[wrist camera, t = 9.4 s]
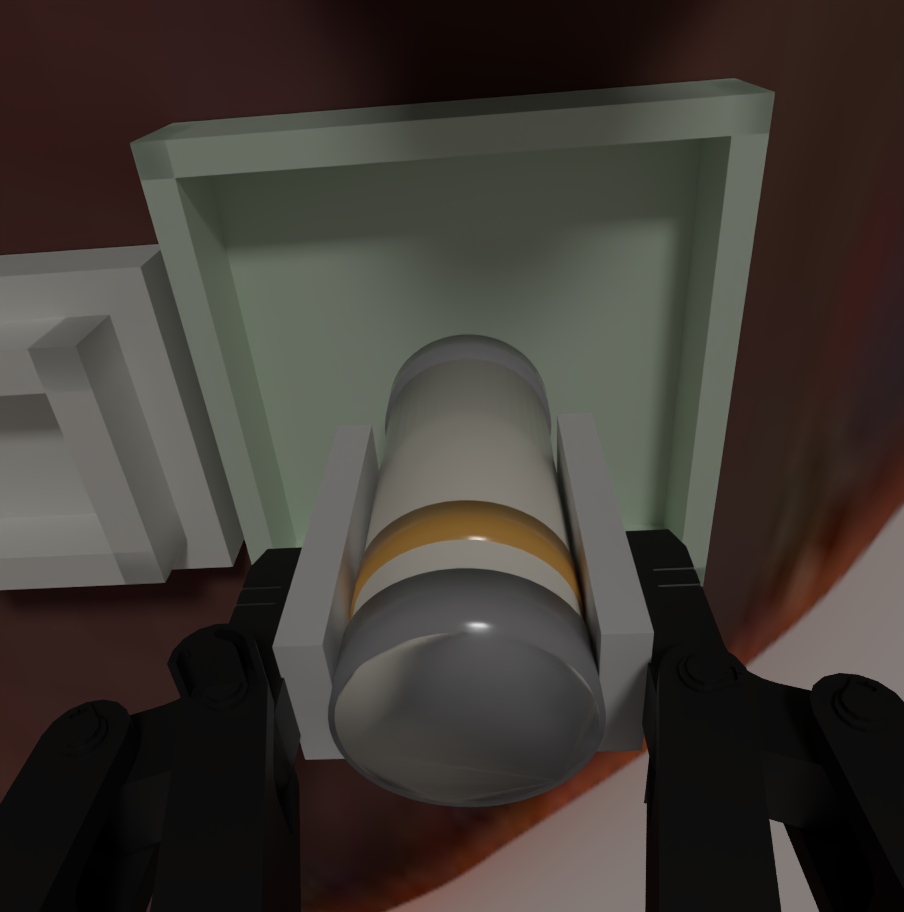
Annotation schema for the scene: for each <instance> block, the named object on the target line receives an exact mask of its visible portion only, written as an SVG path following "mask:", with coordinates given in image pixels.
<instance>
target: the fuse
mask: <svg viewBox="0 0 904 912" xmlns="http://www.w3.org/2000/svg"><path fill="white" fill-rule="evenodd" d="M385 435H386V439H385V444H384V449H383V455H382V460H381V465H380V471H379V476H378V481H377V487H376V492H375V497H374V503H373V508H372V513H371V519H370V524H369V529H368V535H367V540H366V545H365V551H364V554H363V557H362V559H361V561H360V565H359V569H358V573H357V578H356V584H355V589H354V594H353V599H352V604H351V610H350V622H349V623H348V625H347V627H346V630H345V632H344V634H343V637H342V641H341V645H340V650H339V655H338V660H337V666H336V671H335V676H334V681H333V686H332V691H331V696H330V701H329V706H328V723H329V730H330V733H331V736H332V738H333V741H334V743H335V745H336V747H337V748H338V750H339V752H340V753H341V754H342V756H343V757H344V758H345V759H346V761H347V762H348V763H349V764H350V765H351V766H352V767H353V768H354V769H355V770H356V771H357V772H359V773H360V774H361V775H363V776H364V777H366V778H367V779H368V780H370V781H372V782H373V783H375V784H377V785H378V786H380V787H382V788H384V789H386V790H389V791H391V792H393V793H395V794H398V795H401V796H404V797H407V798H409V799H413V800H417V801H421V802H425V803H430V804H436V805H443V806H454V807H485V806H495V805H502V804H508V803H513V802H517V801H522V800H525V799H528V798H531V797H534V796H537V795H540V794H542V793H545V792H547V791H549V790H552V789H553V788H555V787H557V786H559V785H561V784H563V783H564V782H566V781H567V780H569V779H570V778H571V777H573V776H574V775H576V774H577V773H578V772H579V771H580V770H581V769H582V768H583V767H584V766H586V764H587V763H588V762H589V761H590V760H591V758H592V757H593V756H594V754H595V753H596V751H597V749H598V748H599V746H600V744H601V741H602V738H603V736H604V732H605V726H606V710H605V704H604V699H603V694H602V688H601V684H600V680H599V675H598V669H597V664H596V659H595V653H594V648H593V643H592V638H591V635H590V633H589V631H588V629H587V626H586V625H585V614H584V608H583V603H582V597H581V592H580V586H579V581H578V575H577V571H576V567H575V563H574V560H573V558H572V556H571V552H570V546H569V540H568V535H567V529H566V523H565V518H564V512H563V507H562V501H561V495H560V490H559V484H558V478H557V473H556V467H555V461H554V456H553V450H552V445H551V439H550V437H551V416H550V410H549V405H548V400H547V394H546V390H545V386H544V383H543V381H542V378H541V376H540V374H539V372H538V371H537V369H536V367H535V366H534V365H533V364H532V362H531V361H530V360H529V359H528V358H527V357H526V356H525V355H524V354H523V353H521V352H520V351H519V350H517V349H516V348H515V347H513V346H511V345H509V344H507V343H505V342H503V341H500V340H498V339H495V338H491V337H487V336H482V335H474V334H462V335H454V336H449V337H445V338H441V339H439V340H436V341H433V342H431V343H429V344H427V345H426V346H424V347H422V348H421V349H419V350H418V351H416V352H415V353H414V354H413V355H412V356H411V357H410V358H409V359H407V360H406V362H405V363H404V364H403V366H402V367H401V368H400V370H399V371H398V373H397V375H396V377H395V379H394V382H393V384H392V388H391V392H390V397H389V402H388V407H387V412H386V418H385Z"/></svg>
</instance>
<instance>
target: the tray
mask: <svg viewBox="0 0 904 912" xmlns="http://www.w3.org/2000/svg"><path fill="white" fill-rule="evenodd" d="M774 96H775V92H773V91H770V90H767V89H764V88H762V87H759V86H756V85H753V84H750V83H747V82H744V81H741V80H738V79H735V78H730V79H718V80H706V81H693V82H681V83H668V84H656V85H643V86H631V87H618V88H606V89H593V90H581V91H568V92H556V93H543V94H531V95H518V96H506V97H493V98H481V99H468V100H456V101H443V102H431V103H418V104H406V105H393V106H381V107H368V108H356V109H343V110H331V111H318V112H306V113H293V114H281V115H268V116H256V117H243V118H231V119H218V120H206V121H193V122H181V123H172V124H170V125H167V126H165V127H163V128H161V129H159V130H157V131H155V132H152V133H150V134H148V135H146V136H144V137H142V138H139V139H137V140H135V141H133V142H131V143H130V146H131V149H132V153H133V156H134V160H135V163H136V167H137V170H138V174H139V177H140V180H141V184H142V187H143V191H144V194H145V198H146V201H147V205H148V208H149V211H150V215H151V218H152V222H153V225H154V229H155V232H156V236H157V239H158V242H159V246H160V249H161V253H162V256H163V260H164V263H165V267H166V270H167V274H168V277H169V280H170V284H171V287H172V291H173V294H174V298H175V301H176V305H177V308H178V311H179V315H180V318H181V322H182V325H183V329H184V332H185V336H186V339H187V342H188V346H189V349H190V353H191V356H192V360H193V363H194V367H195V370H196V374H197V377H198V380H199V384H200V387H201V391H202V394H203V398H204V401H205V405H206V408H207V411H208V415H209V418H210V422H211V425H212V429H213V432H214V436H215V439H216V442H217V446H218V449H219V453H220V456H221V460H222V463H223V467H224V470H225V474H226V477H227V480H228V484H229V487H230V491H231V494H232V498H233V501H234V505H235V508H236V511H237V515H238V518H239V522H240V525H241V529H242V532H243V536H244V539H245V542H246V546H247V549H248V553H249V556H250V560H251V563H252V565H253V564H254V563H255V561H256V560H257V559H258V558H259V557H260V556H261V555H262V554H263V553H264V552H265V551H266V550H267V549H276V548H298V547H302V546H303V543H304V540H305V536H306V533H307V530H308V526H309V523H310V520H311V516H312V513H313V510H314V506H315V503H316V500H317V496H318V493H319V490H320V486H321V483H322V480H323V476H324V473H325V470H326V466H327V463H328V460H329V456H330V453H331V450H332V446H333V443H334V440H335V436H336V433H337V430H338V426H351V425H370V424H372V429H373V435H374V442H375V448H376V455H377V461H378V468H379V471H380V465H381V460H382V455H383V449H384V444H385V439H386V435H385V418H386V412H387V407H388V402H389V397H390V392H391V388H392V384H393V382H394V379H395V377H396V375H397V373H398V371H399V370H400V368H401V367H402V366H403V364H404V363H405V362H406V360H407V359H409V358H410V357H411V356H412V355H413V354H414V353H415V352H416V351H418V350H419V349H421V348H422V347H424V346H426V345H427V344H429V343H431V342H433V341H436V340H439V339H441V338H445V337H449V336H454V335H462V334H474V335H482V336H487V337H491V338H495V339H498V340H500V341H503V342H505V343H507V344H509V345H511V346H513V347H515V348H516V349H517V350H519V351H520V352H521V353H523V354H524V355H525V356H526V357H527V358H528V359H529V360H530V361H531V362H532V364H533V365H534V366H535V367H536V369H537V371H538V372H539V374H540V376H541V378H542V381H543V383H544V386H545V390H546V394H547V400H548V405H549V410H550V416H551V437H550V439H551V445H552V450H553V456H554V461H555V467H556V473H557V414H571V413H590V412H591V413H592V416H593V420H594V423H595V427H596V430H597V434H598V437H599V441H600V444H601V448H602V451H603V455H604V458H605V462H606V465H607V469H608V472H609V476H610V479H611V483H612V487H613V490H614V494H615V497H616V501H617V504H618V508H619V511H620V515H621V518H622V522H623V525H624V529H625V531H638V530H660V529H669V530H670V531H671V532H672V533H673V534H674V535H675V536H676V537H677V538H678V539H679V540H680V541H681V542H682V543H684V544H685V545H686V547H687V549H688V552H689V555H690V557H691V560H692V562H693V565H694V570H696V573H697V575H698V578H699V580H700V586H702V587H703V582H704V575H705V569H706V562H707V555H708V548H709V541H710V534H711V528H712V521H713V514H714V507H715V500H716V493H717V486H718V480H719V473H720V466H721V459H722V452H723V445H724V439H725V432H726V425H727V418H728V411H729V404H730V398H731V391H732V384H733V377H734V370H735V363H736V356H737V350H738V343H739V336H740V329H741V322H742V315H743V309H744V302H745V295H746V288H747V281H748V274H749V267H750V261H751V254H752V247H753V240H754V233H755V226H756V220H757V213H758V206H759V199H760V192H761V185H762V178H763V172H764V165H765V158H766V151H767V144H768V137H769V131H770V124H771V117H772V110H773V103H774Z"/></svg>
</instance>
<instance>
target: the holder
mask: <svg viewBox="0 0 904 912" xmlns="http://www.w3.org/2000/svg"><path fill="white" fill-rule="evenodd" d="M243 540H244V536H243V532H242V529H241V525H240V522H239V518H238V515H237V511H236V508H235V505H234V501H233V498H232V494H231V491H230V487H229V484H228V480H227V477H226V474H225V470H224V467H223V463H222V460H221V456H220V453H219V449H218V446H217V442H216V439H215V436H214V432H213V429H212V425H211V422H210V418H209V415H208V411H207V408H206V405H205V401H204V398H203V394H202V391H201V387H200V384H199V380H198V377H197V374H196V370H195V367H194V363H193V360H192V356H191V353H190V349H189V346H188V342H187V339H186V336H185V332H184V329H183V325H182V322H181V318H180V315H179V311H178V308H177V305H176V301H175V298H174V294H173V291H172V287H171V284H170V280H169V277H168V274H167V270H166V267H165V263H164V260H163V256H162V253H161V249H160V246H159V244H156V245H141V246H127V247H113V248H99V249H85V250H71V251H57V252H42V253H28V254H14V255H0V590H14V589H37V588H59V587H82V586H104V585H126V584H149V583H165V582H166V580H167V578H168V576H169V574H170V573H171V571H172V569H194V568H216V567H233V565H234V563H235V560H236V558H237V555H238V553H239V550H240V548H241V545H242V543H243Z"/></svg>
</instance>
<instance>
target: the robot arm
mask: <svg viewBox="0 0 904 912" xmlns="http://www.w3.org/2000/svg"><path fill="white" fill-rule="evenodd" d="M378 476H379V468H378V461H377V455H376V448H375V442H374V435H373V429H372V424H370V425H351V426H338V430H337V433H336V436H335V440H334V443H333V446H332V450H331V453H330V456H329V460H328V463H327V466H326V470H325V473H324V476H323V480H322V483H321V486H320V490H319V493H318V496H317V500H316V503H315V506H314V510H313V513H312V516H311V520H310V523H309V526H308V530H307V533H306V536H305V540H304V543H303V546H302V547H298V548H276V549H267V550H266V551H265V552H264V553H263V554H262V555H261V556H260V557H259V558H258V559H257V560H256V561H255V563H254V564H253V565H252V566H251V567H250V569H249V572H248V575H247V577H246V580H245V583H244V585H243V591H241V593H240V596H239V598H238V601H237V607H235V609H234V612H233V614H232V617H231V619H230V622H229V624H215V625H212V626H209V627H205V628H202V629H199V630H197V631H196V632H194V633H193V634H191V635H189V636H188V637H186V638H184V639H183V640H182V641H181V643H180V644H179V645H178V646H177V647H176V648H175V649H174V650H173V651H172V654H171V656H170V658H169V661H168V663H167V665H168V667H169V670H170V672H171V674H172V677H173V679H174V682H175V684H176V687H177V689H178V692H179V694H180V696H181V698H180V699H178V700H176V701H173V702H171V703H168V704H166V705H163V706H159V707H156V708H153V709H149V710H146V711H143V712H139V713H136V714H133V715H129V714H128V712H127V710H126V709H125V708H124V707H123V706H121V705H120V704H119V703H118V702H114V701H108V700H98V701H92V702H86V703H84V704H82V705H79V706H77V707H75V708H73V709H70V710H68V711H67V712H66V713H64V714H63V715H62V716H60V717H59V718H58V719H56V720H55V721H54V722H53V723H52V724H51V725H50V726H49V728H48V729H47V730H46V731H45V732H44V734H43V735H42V736H41V738H40V739H39V741H38V743H37V744H36V746H35V748H34V749H33V751H32V753H31V754H30V756H29V758H28V759H27V761H26V763H25V764H24V766H23V768H22V769H21V771H20V772H19V774H18V776H17V777H16V779H15V781H14V782H13V784H12V786H11V787H10V789H9V791H8V792H7V794H6V796H5V797H4V799H3V801H2V802H1V804H0V912H146V910H147V907H148V905H149V902H150V899H151V897H152V902H151V909H150V912H301V886H300V816H299V782H298V778H297V774H296V771H295V767H294V764H295V760H296V755H297V751H298V746H299V742H300V743H301V747H302V750H303V753H304V757H305V760H311V759H345V758H344V757H343V756H342V754H341V753H340V752H339V750H338V748H337V747H336V745H335V743H334V741H333V738H332V736H331V733H330V730H329V723H328V706H329V701H330V696H331V691H332V686H333V681H334V676H335V671H336V666H337V660H338V655H339V650H340V645H341V641H342V637H343V634H344V632H345V630H346V627H347V625H348V623H349V622H350V610H351V604H352V599H353V594H354V589H355V584H356V578H357V573H358V569H359V565H360V561H361V559H362V557H363V554H364V551H365V545H366V540H367V535H368V529H369V524H370V519H371V513H372V508H373V503H374V497H375V492H376V487H377V481H378ZM557 478H558V484H559V490H560V495H561V501H562V507H563V512H564V518H565V523H566V529H567V535H568V540H569V546H570V552H571V556H572V558H573V560H574V563H575V567H576V571H577V575H578V581H579V586H580V592H581V597H582V603H583V608H584V614H585V625H586V626H587V629H588V631H589V633H590V635H591V638H592V643H593V648H594V653H595V659H596V664H597V669H598V675H599V680H600V684H601V688H602V694H603V699H604V704H605V710H606V726H605V732H604V736H603V738H602V741H601V744H600V746H599V748H598V749H597V751H631V750H642V745H643V735H645V739H646V743H647V748H648V752H649V764H648V773H647V782H646V791H645V800H644V803H647V833H646V835H647V837H646V907H645V909H646V910H645V912H781V905H780V898H779V890H778V882H777V875H776V867H775V860H774V852H773V844H772V838H771V829H770V821H769V819H771V820H775V821H778V822H782V823H784V826H785V828H786V831H787V833H788V836H789V838H790V841H791V843H792V845H793V848H794V850H795V853H796V855H797V858H798V860H799V863H800V865H801V867H802V870H803V873H804V875H805V877H806V880H807V882H808V884H809V887H810V890H811V892H812V895H813V897H814V900H815V902H816V904H817V907H818V909H819V912H904V702H903V700H901V698H900V697H899V696H898V695H897V694H896V693H895V692H893V691H892V690H890V689H888V688H887V687H885V686H884V685H883V684H881V683H879V682H878V681H875V680H872V679H869V678H866V677H863V676H860V675H855V674H844V673H838V674H834V675H829V676H825V677H823V678H822V679H820V680H819V681H818V682H817V683H816V684H815V685H813V688H812V691H810V690H806V689H801V688H797V687H792V686H788V685H783V684H779V683H775V682H772V681H769V680H766V679H763V678H761V677H759V676H757V675H755V674H753V673H750V672H749V671H747V669H746V667H745V666H744V665H743V664H742V663H741V662H740V661H739V660H738V659H737V658H736V657H735V656H734V655H733V654H731V653H729V652H728V651H727V649H726V647H725V645H724V643H723V640H722V638H721V635H720V632H719V630H718V627H717V625H716V622H715V619H714V617H713V614H712V612H711V609H710V606H709V604H708V601H707V599H706V596H705V593H704V591H703V588H702V586H700V580H699V578H698V575H697V573H696V570H694V565H693V562H692V560H691V557H690V555H689V552H688V549H687V547H686V545H685V544H684V543H682V542H681V541H680V540H679V539H678V538H677V537H676V536H675V535H674V534H673V533H672V532H671V531H670V530H669V529H660V530H638V531H625V529H624V525H623V522H622V518H621V515H620V511H619V508H618V504H617V501H616V497H615V494H614V490H613V487H612V483H611V479H610V476H609V472H608V469H607V465H606V462H605V458H604V455H603V451H602V448H601V444H600V441H599V437H598V434H597V430H596V427H595V423H594V420H593V416H592V413H591V412H590V413H571V414H557ZM152 894H153V896H152Z"/></svg>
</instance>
